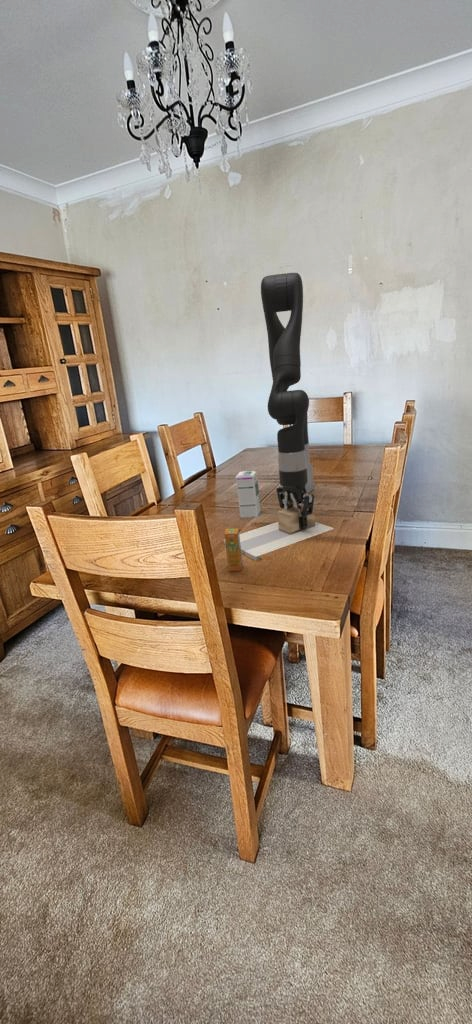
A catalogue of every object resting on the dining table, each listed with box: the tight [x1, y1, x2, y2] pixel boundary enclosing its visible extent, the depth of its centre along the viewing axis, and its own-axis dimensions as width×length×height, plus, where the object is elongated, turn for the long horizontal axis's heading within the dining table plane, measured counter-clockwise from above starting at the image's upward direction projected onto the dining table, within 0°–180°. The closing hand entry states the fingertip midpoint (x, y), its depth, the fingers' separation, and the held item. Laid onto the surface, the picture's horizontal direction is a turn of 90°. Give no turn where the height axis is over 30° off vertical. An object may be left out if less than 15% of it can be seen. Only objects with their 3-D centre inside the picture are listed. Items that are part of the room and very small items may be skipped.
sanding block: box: [277, 503, 316, 534], centre depth 133 cm, size 9×5×6 cm, turn 122°
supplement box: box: [224, 527, 244, 572], centre depth 115 cm, size 3×3×10 cm
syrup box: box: [235, 470, 262, 519], centre depth 148 cm, size 6×6×14 cm
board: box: [222, 521, 334, 562], centre depth 131 cm, size 26×16×1 cm, turn 122°
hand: (296, 525), depth 134 cm, fingers closed on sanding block, 5 cm apart
